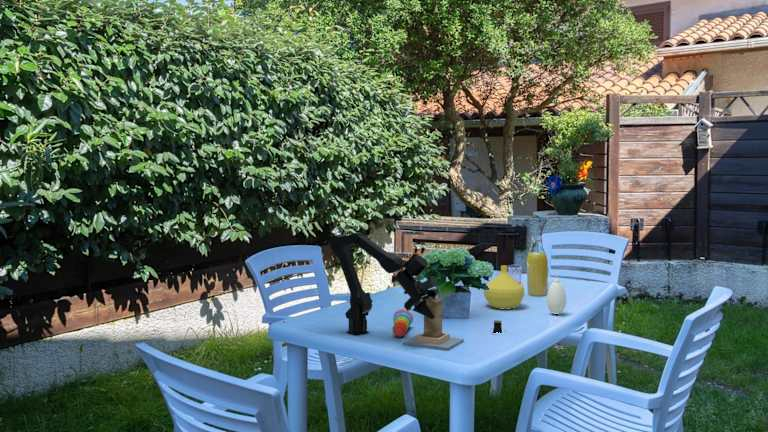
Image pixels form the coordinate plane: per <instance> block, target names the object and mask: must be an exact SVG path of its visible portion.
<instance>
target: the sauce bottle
mask: <svg viewBox="0 0 768 432" xmlns="http://www.w3.org/2000/svg"><path fill="white" fill-rule="evenodd" d="M555 276H556V278H555V279H554V280H553V282H552V283H551V284H550V286H549V288H548V292H547V295H546V296H547V297H546V304H547V305H546V306H547V308H548V311H549V312H550V313H552V312H554V313H563V312H564V310H565V309H566V306H567V295H566V292H565V289H564V286H563V284H562V283H561V280H560V279H558V274H557V273H556V274H555Z"/></svg>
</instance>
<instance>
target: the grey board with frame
mask: <svg viewBox="0 0 768 432" xmlns="http://www.w3.org/2000/svg"><path fill="white" fill-rule="evenodd" d="M464 342H465V339H464V338H460V337H459V338H458V337H457V338H456V337H451V335H450V333H446V332H442V334H441V335H439V336H437V337H432V336H425V335H424V332H422V333H421V332H420V333H418V334H415V335H414V336H412V337H410V338H408V339H405V340H404V341H402V345H403V346H412V347H418V348H419V347H420V348H425V347H426V348H427V349H434V350H439V349H440V351H450V350H452V349H454V348H455V347H457V346H459V345H461V344H462V343H464Z"/></svg>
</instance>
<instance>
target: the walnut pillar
mask: <svg viewBox="0 0 768 432" xmlns="http://www.w3.org/2000/svg"><path fill="white" fill-rule="evenodd" d="M426 305H427V307H428V308H429V310H430V311H431V313H432V314H433V316H434V318H433V319H430V318H428V317H426V316H424V315H423V333H424V335H425V336H432V337H437V336H439V335H441V334H442V333H443V298H437V297H436V298H428V299H426Z"/></svg>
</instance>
